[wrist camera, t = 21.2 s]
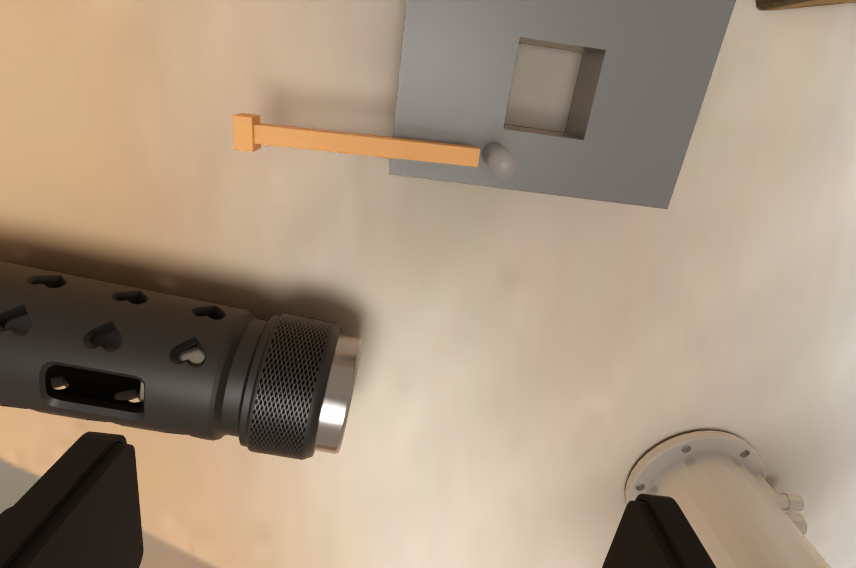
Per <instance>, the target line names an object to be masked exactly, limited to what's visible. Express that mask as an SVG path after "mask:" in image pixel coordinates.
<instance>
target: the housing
mask: <svg viewBox="0 0 856 568" xmlns="http://www.w3.org/2000/svg"><path fill="white" fill-rule="evenodd" d="M735 1H736V0H406V10H405V20H404V30H403V40H402V50H401V60H400V70H399V80H398V90H397V100H396V110H395V120H394V130H393V138H402V139H412V140H421V141H430V142H440V143H449V144H458V145H468V146H477V147H479V148H480V155H479V162H478V167H472V166H463V165H453V164H444V163H434V162H425V161H415V160H405V159H396V158H391V160H390V170H389V174H392V175H400V176H408V177H416V178H424V179H432V180H440V181H448V182H456V183H464V184H472V185H480V186H488V187H496V188H504V189H511V190H519V191H527V192H535V193H543V194H551V195H559V196H567V197H575V198H583V199H591V200H599V201H607V202H615V203H623V204H631V205H639V206H647V207H655V208H663V209H668V206H669V203H670V200H671V197H672V193H673V190H674V187H675V184H676V181H677V178H678V175H679V172H680V169H681V166H682V163H683V160H684V157H685V154H686V151H687V148H688V145H689V142H690V139H691V136H692V133H693V129H694V126H695V123H696V120H697V117H698V114H699V111H700V108H701V105H702V102H703V99H704V96H705V93H706V90H707V87H708V84H709V81H710V78H711V75H712V72H713V68H714V65H715V62H716V59H717V56H718V53H719V50H720V47H721V44H722V41H723V38H724V35H725V32H726V29H727V26H728V23H729V20H730V17H731V14H732V11H733V8H734V4H735ZM519 43H524V44H531V45H538V46H544V47H551V48H557V49H564V50H571V51H577V52H583V57H582V61H581V65H580V70H579V74H578V78H577V83H576V87H575V91H574V96H573V100H572V104H571V109H570V113H569V117H568V122H567V126H566V130H565V133H563V132H556V131H549V130H541V129H534V128H527V127H519V126H512V125H505V124H504V122H505V117H506V111H507V106H508V100H509V95H510V89H511V84H512V78H513V73H514V67H515V62H516V57H517V51H518V46H519Z"/></svg>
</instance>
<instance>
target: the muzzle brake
mask: <svg viewBox="0 0 856 568" xmlns="http://www.w3.org/2000/svg"><path fill="white" fill-rule="evenodd" d="M340 334H341V329H340V328H339V327H338V326H337V325H336V324H335V323H332V322H327V321H322V320H317V319H312V318H307V317H302V316H297V315H292V314H287V313H283V314H282V315H281V316H278V315H274V316H272V317H271V319H270V320H269V321H266V320H260V319H257V318H256V317H255V315H254V314H253V313H252V312H251V311H250V310H247V309H242V308H237V307H232V306H227V305H221V304H216V303H211V302H206V301H201V300H196V299H191V298H186V297H181V296H176V295H171V294H166V293H161V292H156V291H151V290H146V289H141V288H136V287H130V286H125V285H120V284H115V283H110V282H105V281H100V280H95V279H90V278H85V277H80V276H75V275H70V274H65V273H60V272H55V271H50V270H45V269H39V268H34V267H29V266H24V265H19V264H14V263H9V262H4V261H0V406H7V407H15V408H24V409H32V410H35V411H38V412H42V413H48V414H54V415H60V416H66V417H72V418H78V419H85V420H93V421H102V422H112V423H115V424H119V425H122V426H127V427H133V428H139V429H145V430H152V431H158V432H164V433H173V434H182V435H191V436H193V437H197V438H200V439H206V440H217V439H220V438H222V437H223V436H225V435H232V436H238V437H239V440H240V444H241V445H242V446H246V447H248V449H249V450H250V451H252V452H257V453H264V454H270V455H276V456H282V457H288V458H294V459H300V460H303V459H307V458H309V457H312V456H313V454H314V451H315V450H317V451H323V452H329V453H335V454H336V453H339V451H340V448H341V444H342V440H343V436H344V431H345V427H346V422H347V417H348V413H349V408H350V403H351V399H352V394H353V389H354V384H355V379H356V374H357V369H358V364H359V359H360V354H361V348H362V339H360V338H355V337H350V336H345V335H340ZM64 385H65V387H66V388H65V389H61V390H57V389H53V388H57V387H61V386H64ZM137 397H138V399H139V400H140V402H137V403H133V402H130V401H128V400H132V399H135V398H137Z"/></svg>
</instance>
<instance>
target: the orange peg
mask: <svg viewBox="0 0 856 568" xmlns="http://www.w3.org/2000/svg"><path fill="white" fill-rule="evenodd" d="M233 135H234V150H239V151H249V152H254V151H256V150H257V149H259V148H261V144H262V145H271V146H281V147H291V148H300V149H310V150H319V151H329V152H338V153H348V154H358V155H367V156H377V157H386V158H396V159H405V160H415V161H425V162H434V163H444V164H453V165H463V166H472V167H478V162H479V155H480V148H479V147H477V146H468V145H458V144H449V143H440V142H430V141H421V140H412V139H402V138H393V137H384V136H375V135H365V134H356V133H347V132H337V131H328V130H319V129H309V128H300V127H291V126H282V125H272V124H263V123H260V115H254V114H245V113H241V114H237V115H233Z"/></svg>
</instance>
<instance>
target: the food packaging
mask: <svg viewBox="0 0 856 568" xmlns="http://www.w3.org/2000/svg"><path fill="white" fill-rule="evenodd" d="M853 2H856V0H757V7H758V8H759V9H760V10H778V9H790V8H799V7H809V6H820V5H831V4H841V3H853Z"/></svg>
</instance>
